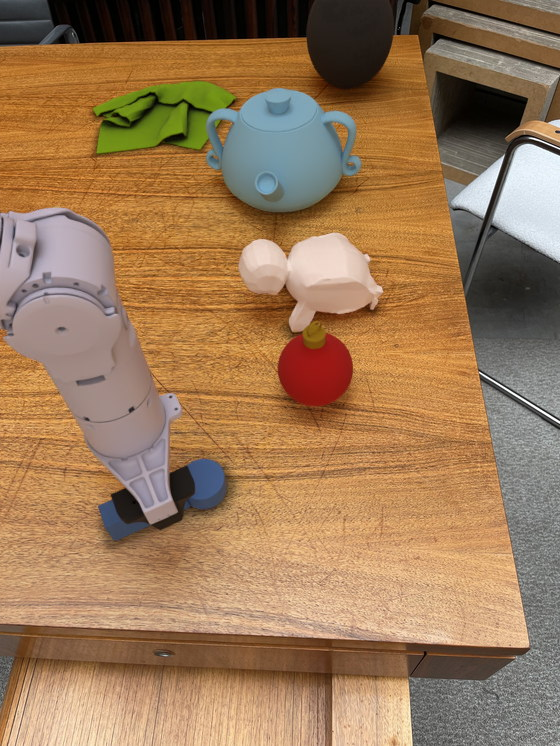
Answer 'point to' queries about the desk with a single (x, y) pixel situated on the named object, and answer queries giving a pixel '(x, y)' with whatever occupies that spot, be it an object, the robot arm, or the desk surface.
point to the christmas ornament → (315, 367)
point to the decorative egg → (349, 40)
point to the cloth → (160, 116)
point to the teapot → (282, 150)
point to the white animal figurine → (311, 275)
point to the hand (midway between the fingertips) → (154, 482)
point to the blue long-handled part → (206, 496)
